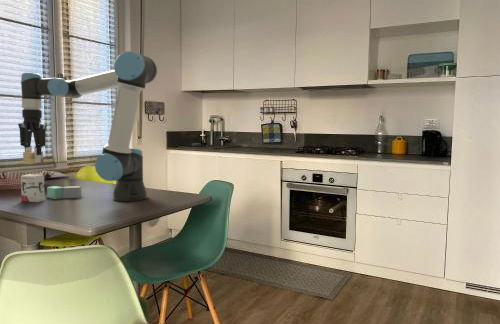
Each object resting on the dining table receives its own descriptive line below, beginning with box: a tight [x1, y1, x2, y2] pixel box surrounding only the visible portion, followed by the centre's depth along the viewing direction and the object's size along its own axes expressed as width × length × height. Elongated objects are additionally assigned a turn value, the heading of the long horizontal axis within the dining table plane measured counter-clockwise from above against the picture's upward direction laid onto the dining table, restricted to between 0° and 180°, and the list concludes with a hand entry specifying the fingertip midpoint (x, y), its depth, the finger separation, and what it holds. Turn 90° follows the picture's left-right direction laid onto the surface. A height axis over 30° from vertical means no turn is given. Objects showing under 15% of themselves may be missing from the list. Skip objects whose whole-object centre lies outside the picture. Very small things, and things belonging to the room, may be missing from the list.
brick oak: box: [22, 150, 44, 165], centre depth 177 cm, size 7×4×5 cm, turn 163°
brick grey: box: [62, 185, 82, 199], centre depth 188 cm, size 7×4×5 cm, turn 98°
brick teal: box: [46, 185, 64, 200], centre depth 187 cm, size 7×4×5 cm, turn 53°
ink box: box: [20, 173, 46, 203], centre depth 178 cm, size 9×5×12 cm, turn 76°
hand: (33, 162), depth 177 cm, fingers closed on brick oak, 4 cm apart
